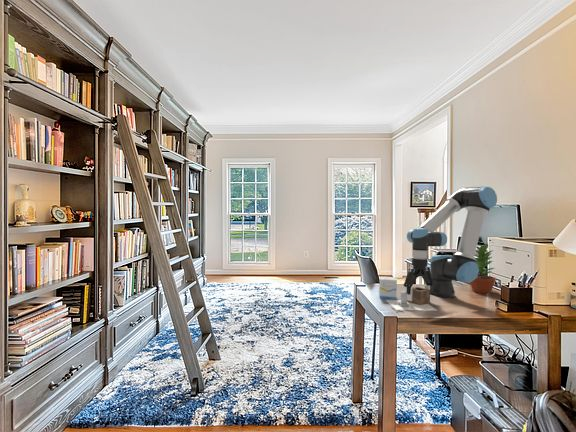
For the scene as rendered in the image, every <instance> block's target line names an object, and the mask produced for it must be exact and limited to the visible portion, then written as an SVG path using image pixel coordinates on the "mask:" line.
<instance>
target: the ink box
mask: <svg viewBox="0 0 576 432" xmlns="http://www.w3.org/2000/svg"><path fill="white" fill-rule="evenodd" d="M397 283H398V280H397V278H396V277H393V276H392V277H391V276H380V277H379V290H378V292H379V293H378V294H379V295H378V297H379V298H380V299H381V300H397V291H398V290H397V286H398V285H397Z"/></svg>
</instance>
